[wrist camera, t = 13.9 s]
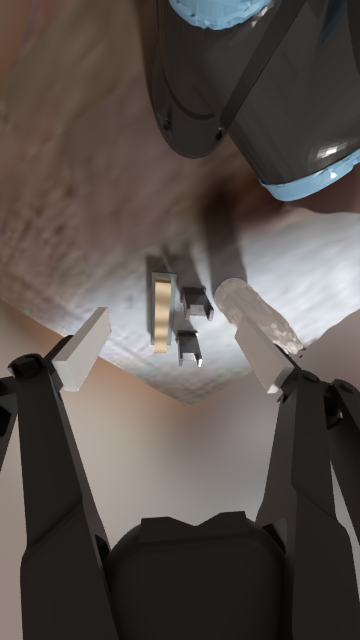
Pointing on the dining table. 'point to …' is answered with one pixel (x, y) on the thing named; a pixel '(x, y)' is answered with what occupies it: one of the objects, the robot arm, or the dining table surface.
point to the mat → (172, 301)
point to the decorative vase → (254, 313)
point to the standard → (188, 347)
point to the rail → (162, 313)
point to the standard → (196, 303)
